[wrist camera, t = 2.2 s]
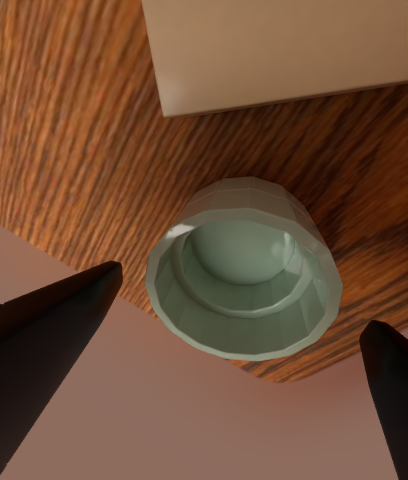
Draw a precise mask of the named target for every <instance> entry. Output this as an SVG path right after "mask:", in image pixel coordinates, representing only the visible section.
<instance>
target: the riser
mask: <svg viewBox="0 0 408 480" xmlns="http://www.w3.org/2000/svg"><path fill="white" fill-rule="evenodd" d="M141 1H142V6H143V11H144V17H145V22H146V28H147V33H148V38H149V44H150V49H151V55H152V60H153V65H154V71H155V76H156V82H157V87H158V92H159V98H160V103H161V109H162V114H163V117H164V118H186V117H194V116H200V115H207V114H213V113H220V112H227V111H233V110H240V109H246V108H253V107H259V106H266V105H272V104H279V103H285V102H292V101H299V100H305V99H312V98H318V97H325V96H331V95H338V94H344V93H351V92H357V91H364V90H371V89H377V88H384V87H390V86H397V85H403V84H408V0H141Z"/></svg>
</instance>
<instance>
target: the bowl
mask: <svg viewBox="0 0 408 480" xmlns="http://www.w3.org/2000/svg"><path fill="white" fill-rule="evenodd" d="M145 286H146V289H147V292H148V296H149V299H150V302H151V305H152V308H153V310H154V311H155V313H156V314H157V315H158V316H159V318H160V319H161V320H162V321H163V323H164V324H165V325H166V326H167V328H168V329H169V330H170V331H171V332H172V333H174V334H175V335H177V336H178V337H180V338H181V339H183V340H184V341H186V342H187V343H188V344H190V345H191V346H193V347H194V348H197V349H199V350H202V351H205V352H208V353H211V354H214V355H216V356H219V357H222V358H226V359H236V360H248V361H262V360H268V359H274V358H279V357H285V356H289V355H292V354H294V353H295V352H297V351H299V350H301V349H303V348H305V347H307V346H309V345H311V344H313V343H315V342H316V341H317V340H319V339H320V337H321V336H322V335H323V334H324V332H325V331H326V330H327V329H328V328H329V326H330V325H331V324H332V323H333V322H334V320H335V319H336V318H337V316H338V311H339V305H340V300H341V294H342V289H343V282H342V280H341V277H340V275H339V272H338V270H337V267H336V265H335V262H334V260H333V257H332V254H331V252H330V250H329V248H328V247H327V245H326V243H325V241H324V239H323V238H322V236H321V234H320V232H319V231H318V229H317V227H316V225H315V224H314V222H313V220H312V218H311V217H310V215H309V213H308V211H307V209H306V208H305V206H304V205H303V204H302V203H301V202H300V201H299V200H298V199H296V198H295V197H294V196H293V195H292V194H291V193H290V192H289V191H287V190H286V189H285V188H284V187H282V186H281V185H278V184H275V183H272V182H269V181H266V180H262V179H259V178H256V177H239V178H228V179H222V180H218V181H217V182H215V183H213V184H211V185H209V186H207V187H205V188H203V189H201V190H199V191H198V192H197V193H195V194H194V195H193V197H192V198H191V199H190V200H189V202H188V203H187V204H186V205H185V207H184V208H183V209H182V211H181V212H180V213H179V214H178V216H177V217H176V218H175V220H174V221H173V222H172V224H171V225H170V226H169V228H168V229H167V230H166V232H165V233H164V234H163V236H162V237H161V238H160V240H159V241H158V242H157V244H156V245H155V246H154V248H153V249H152V250H151V252H150V254H149V258H148V264H147V270H146V276H145Z"/></svg>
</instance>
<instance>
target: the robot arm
mask: <svg viewBox="0 0 408 480" xmlns="http://www.w3.org/2000/svg"><path fill="white" fill-rule="evenodd" d="M122 282H123V274H122V264H121V263H120V262H116V261H108V262H105V263H103V264H100V265H98V266H95V267H93V268H90V269H88V270H85V271H83V272H80V273H78V274H75V275H73V276H70V277H68V278H65V279H63V280H60V281H58V282H55V283H53V284H50V285H48V286H45V287H43V288H40V289H38V290H35V291H33V292H30V293H28V294H25V295H23V296H20V297H18V298H15V299H13V300H10V301H8V302H5V303H4V304H0V475H1V473H2V472H3V470H4V469H5V467H6V466H7V463H8V462H9V461H10V459H11V458H12V456H13V455H14V453H15V452H16V450H17V449H18V447H19V446H20V444H21V443H22V441H23V440H24V438H25V437H26V435H27V433H28V432H29V431H30V429H31V428H32V426H33V425H34V423H35V422H36V420H37V419H38V417H39V416H40V414H41V413H42V411H43V410H44V408H45V407H46V405H47V404H48V402H49V401H50V399H51V398H52V396H53V395H54V393H55V392H56V390H57V389H58V387H59V386H60V384H61V383H62V381H63V380H64V379H65V377H66V376H67V374H68V373H69V371H70V370H71V368H72V366H73V365H74V364H75V362H76V361H77V359H78V357H79V356H80V355H81V353H82V352H83V350H84V348H85V347H86V345H87V344H88V343H89V341H90V339H91V338H92V336H93V335H94V334H95V332H96V331H97V329H98V328H99V326H100V324H101V323H102V321H103V319H104V318H105V316H106V314H107V312H108V310H109V309H110V307H111V305H112V303H113V301H114V299H115V297H116V295H117V293H118V291H119V289H120V287H121V285H122ZM359 342H360V347H361V352H362V356H363V361H364V366H365V371H366V375H367V380H368V384H369V388H370V392H371V395H372V398H373V401H374V404H375V407H376V410H377V414H378V417H379V420H380V423H381V426H382V429H383V432H384V435H385V438H386V442H387V445H388V448H389V451H390V454H391V457H392V460H393V464H394V467H395V470H396V473H397V476H398V479H399V480H408V339H407V338H405V337H404V336H403V335H402V334H400V333H399V332H398V331H397V330H395V329H394V328H393V327H392V326H390V325H389V324H388V323H386V322H382V321H377V320H372V321H370V322H369V324H368V325H367V326H366V328H365V329H364V331H363V332H362V333H361V335H360V339H359Z"/></svg>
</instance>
